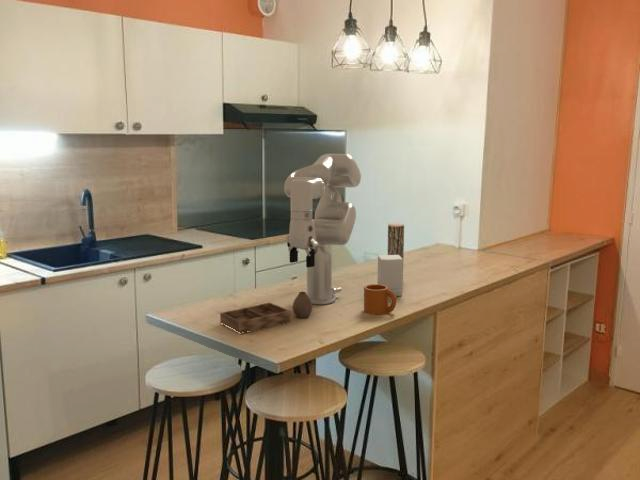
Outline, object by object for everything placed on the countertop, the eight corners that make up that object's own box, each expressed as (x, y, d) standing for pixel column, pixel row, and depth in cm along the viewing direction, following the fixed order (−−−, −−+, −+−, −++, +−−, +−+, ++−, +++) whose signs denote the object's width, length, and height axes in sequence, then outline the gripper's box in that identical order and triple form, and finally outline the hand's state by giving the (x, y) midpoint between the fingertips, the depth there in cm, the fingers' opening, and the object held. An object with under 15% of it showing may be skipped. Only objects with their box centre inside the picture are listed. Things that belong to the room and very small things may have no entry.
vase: (289, 315, 218) (289, 291, 216) (307, 312, 221) (306, 289, 219) (298, 320, 211) (297, 296, 210) (315, 317, 215) (315, 293, 213)
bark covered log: (385, 282, 261) (386, 225, 257) (388, 278, 268) (389, 222, 263) (401, 283, 259) (402, 225, 254) (404, 280, 265) (405, 223, 261)
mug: (386, 318, 214) (386, 293, 212) (359, 311, 222) (358, 287, 220) (400, 311, 221) (400, 287, 219) (373, 305, 228) (373, 282, 227)
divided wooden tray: (269, 313, 220) (269, 302, 219) (290, 322, 210) (290, 310, 209) (220, 324, 208) (220, 313, 207) (240, 334, 198) (240, 322, 197)
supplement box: (402, 296, 241) (403, 259, 238) (380, 296, 240) (380, 259, 237) (398, 290, 250) (399, 254, 247) (377, 290, 249) (377, 254, 246)
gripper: (326, 217, 205) (325, 267, 208) (295, 212, 218) (296, 258, 221) (308, 219, 200) (308, 270, 203) (278, 213, 214) (278, 261, 217)
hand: (301, 264), depth 212 cm, fingers open, 9 cm apart
